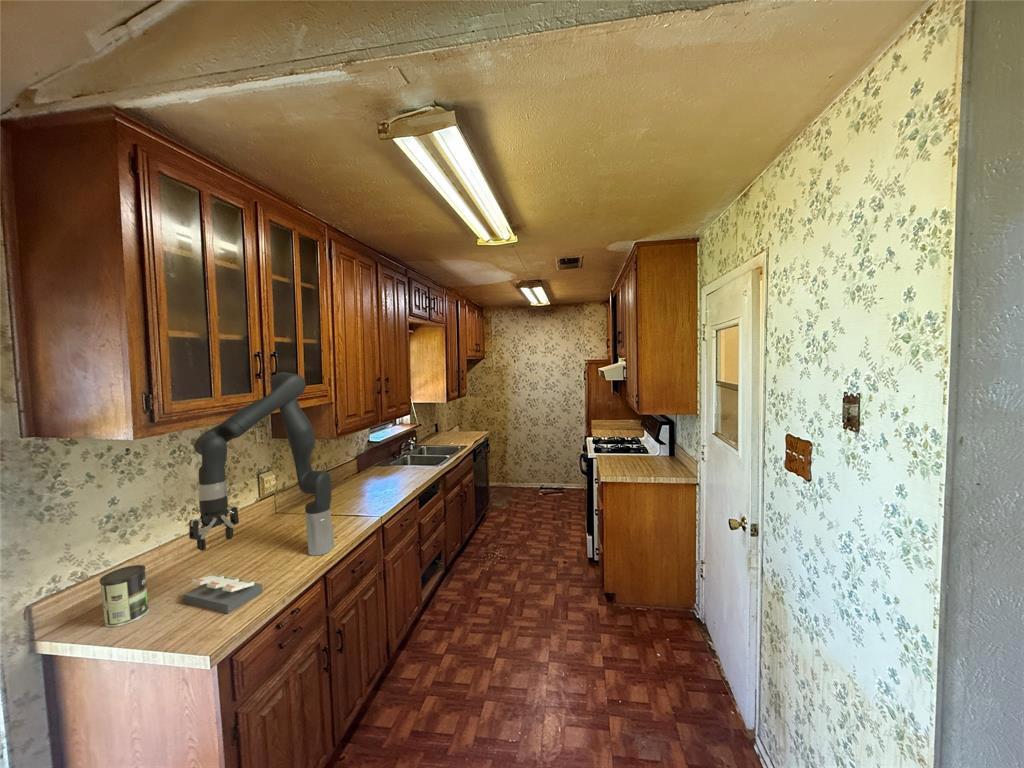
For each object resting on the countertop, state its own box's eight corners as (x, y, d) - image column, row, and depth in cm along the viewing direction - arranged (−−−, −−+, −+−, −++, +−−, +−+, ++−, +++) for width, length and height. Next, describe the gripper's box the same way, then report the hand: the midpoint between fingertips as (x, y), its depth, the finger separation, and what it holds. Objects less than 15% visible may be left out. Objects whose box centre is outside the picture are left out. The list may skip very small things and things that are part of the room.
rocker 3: (244, 583, 138) (245, 579, 139) (254, 585, 137) (255, 581, 137) (221, 590, 131) (222, 586, 131) (231, 592, 129) (232, 588, 130)
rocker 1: (214, 578, 143) (215, 574, 143) (224, 579, 141) (225, 575, 142) (190, 583, 135) (191, 579, 136) (200, 585, 134) (201, 581, 134)
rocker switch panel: (220, 583, 145) (219, 575, 145) (262, 592, 139) (262, 584, 139) (183, 603, 134) (183, 594, 134) (228, 614, 128) (227, 604, 127)
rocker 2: (229, 580, 141) (230, 576, 141) (239, 582, 139) (239, 578, 139) (205, 587, 133) (206, 582, 133) (215, 589, 132) (216, 585, 132)
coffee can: (146, 602, 135) (142, 561, 134) (151, 615, 128) (147, 571, 127) (102, 618, 127) (98, 574, 126) (105, 632, 120) (100, 586, 119)
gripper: (227, 488, 141) (229, 534, 142) (181, 501, 128) (184, 552, 129) (242, 490, 139) (245, 537, 140) (197, 503, 125) (200, 555, 126)
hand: (216, 544), depth 134 cm, fingers open, 8 cm apart
